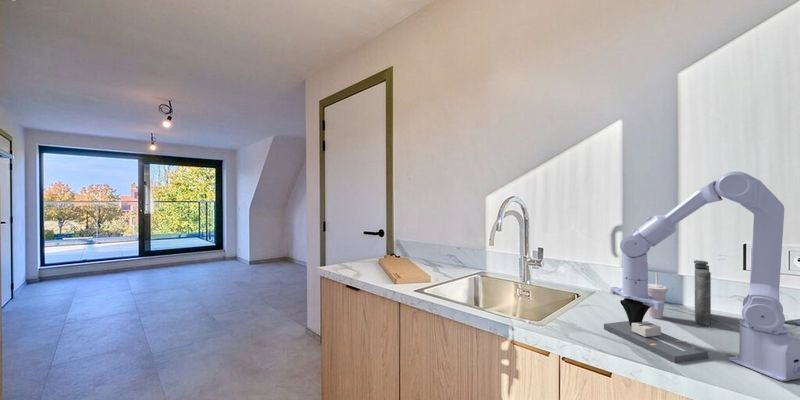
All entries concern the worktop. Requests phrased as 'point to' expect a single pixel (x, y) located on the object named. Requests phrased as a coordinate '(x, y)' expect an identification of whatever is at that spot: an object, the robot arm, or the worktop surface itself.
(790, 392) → the worktop surface
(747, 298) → the robot arm
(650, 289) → the smoothie
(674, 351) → the console
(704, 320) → the flask
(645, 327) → the fader knob
